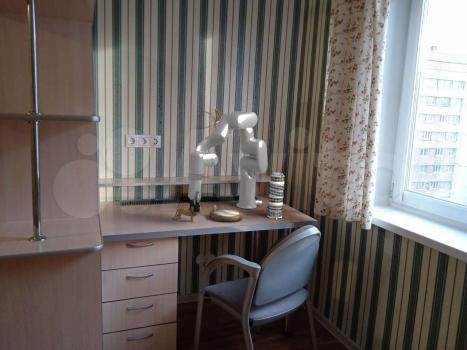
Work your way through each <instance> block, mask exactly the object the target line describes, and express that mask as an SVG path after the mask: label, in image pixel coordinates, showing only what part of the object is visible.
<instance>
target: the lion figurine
mask: <svg viewBox="0 0 467 350" xmlns="http://www.w3.org/2000/svg"><path fill="white" fill-rule="evenodd" d="M201 212H202V205H200V212H193V207H190V206H189V207H188V208H184V207H179V208H177V210H176V211H175V214H174V217H172V220H175V219H176V221H177V220H179V222H183V220H182V218H181V217H182V215H183V216H185V217H190V222H191V223H194V222H195V219H194V217H197V216H198V215H199V214H200V213H201Z"/></svg>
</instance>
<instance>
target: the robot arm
mask: <svg viewBox="0 0 467 350" xmlns="http://www.w3.org/2000/svg"><path fill="white" fill-rule="evenodd" d="M258 119H259V118H258V116H257V114H256V113H255V112H253V111H236V110H235V111H232V112H230V113H223V114H222V115H221V116H220V118H219V120H218V122H217V124H216V126H215V127H214V129H213V131H212V132H211V134H209V135H208V136H206V137H205V138H203V139H202V140H201V141H199V143H198V144H197V145H196V147H195V149H194V151H193V152H190V153H189V161H188V162H189V163H188V180H189V183H188V193H187V194H188V195H187V196H188V198H189V208H190V207H193V212H200V206H201V198H202V181H204V178H205V177H204V174H205V172H204V171H205V167H207V168H208V167H209V168H213V167H215V166H217V164H218V163H219V157H218V155H217V154H216V153H214V152H211V151H209V150H210V149H211V148H214V147H216V146H220V145H222V144H224V143H225V142H227V140H228V138H229V136H230V134H231V132H232V130H237V131H238V135H239V145H240V151H241V153H242V154H244V156H242V157H240V159H239V175H240V177H239V178H240V179H239V196H238V197H239V199H238V203H236V207H237V208H239V209H244V210H252V209H253V210H254V209H257V207H258V206H257V205H262V204H263V201H262V200H256V197H255V196H256V184H257V177H256V175H255V173H259V174H263V173H266V171H267V169H268V165H269V164H268V148H267V144H266V142H265V141H264V139H260V138H255V135H254V134H255V133H254V127H255V126H256V125H257V123H258ZM200 213H201V212H200Z"/></svg>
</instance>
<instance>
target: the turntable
mask: <svg viewBox="0 0 467 350" xmlns="http://www.w3.org/2000/svg"><path fill="white" fill-rule="evenodd" d="M209 217H210V219H213V220H215V221H220V222H221V221H222V222H236V221H240V220H242V219H243V217H244V213H243V212H242V211H239V210H237V209H231V208H229V209H228V208H217V205H216V204H212V210H210V211H209Z"/></svg>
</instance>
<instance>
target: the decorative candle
mask: <svg viewBox="0 0 467 350" xmlns="http://www.w3.org/2000/svg"><path fill="white" fill-rule="evenodd" d="M269 176H270V177H269V179H270V180H269V181H268V190H267V191H268V204H267V210H266V212H267V213H266V217H267V218H268V217H269V218H268V219H272V218H276V219H275V220H278V219H277V218H281V219H282V218H283V213H284V212H283V209H284V208H283V207H284V205H283V204H284V203H283V202H284V201H283V200H284V199H283V198H284V197H285V192H284V191H285V190H286V189H285V187H286V186H285V175H284V173H282V172H278V171H274V172H272V173H271V174H270V175H269Z"/></svg>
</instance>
